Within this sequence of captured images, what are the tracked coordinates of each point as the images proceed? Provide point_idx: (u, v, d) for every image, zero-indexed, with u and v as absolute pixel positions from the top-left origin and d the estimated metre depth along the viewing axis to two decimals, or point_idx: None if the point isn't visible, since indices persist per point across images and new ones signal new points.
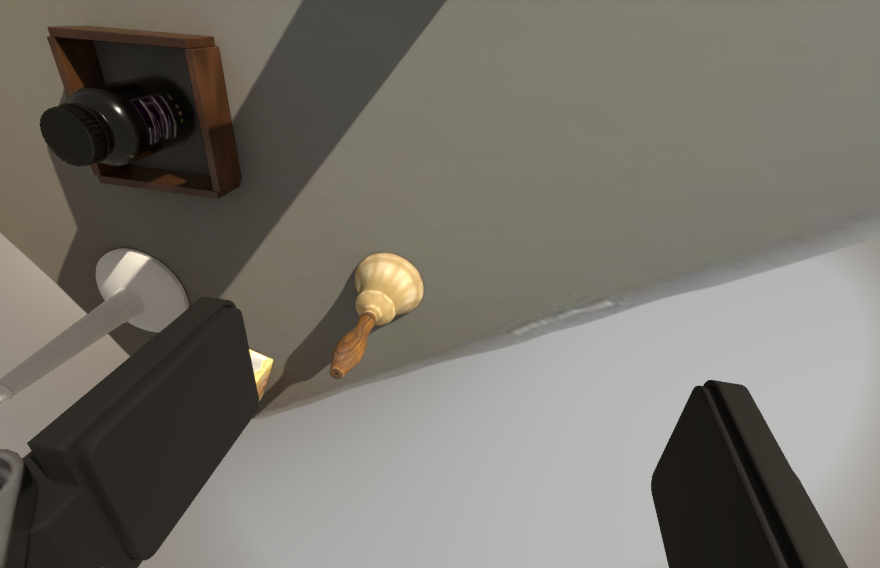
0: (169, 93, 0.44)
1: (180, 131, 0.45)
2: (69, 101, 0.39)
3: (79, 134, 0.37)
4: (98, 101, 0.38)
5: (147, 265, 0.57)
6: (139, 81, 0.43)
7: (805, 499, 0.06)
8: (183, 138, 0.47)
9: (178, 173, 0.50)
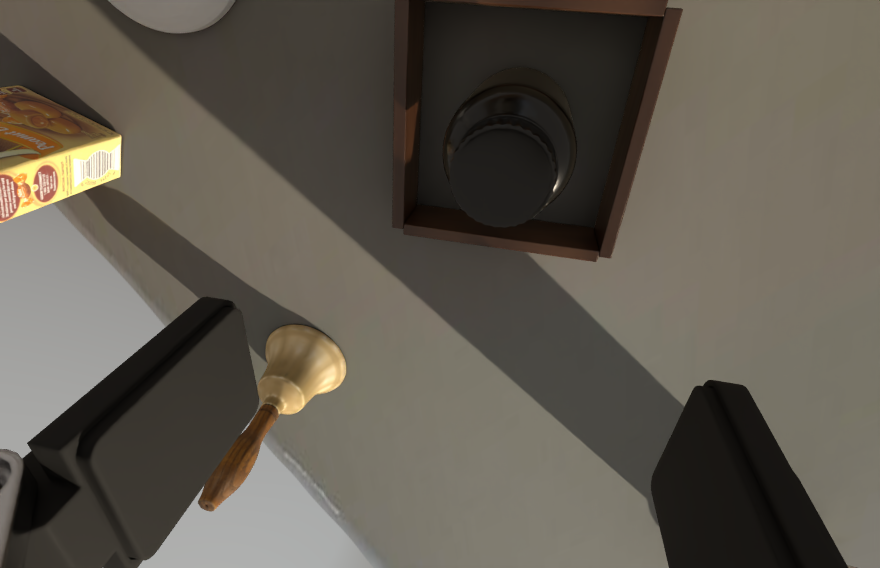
0: None
1: None
2: (559, 135, 0.21)
3: (507, 208, 0.21)
4: (552, 192, 0.23)
5: None
6: None
7: (805, 499, 0.06)
8: None
9: (419, 114, 0.31)
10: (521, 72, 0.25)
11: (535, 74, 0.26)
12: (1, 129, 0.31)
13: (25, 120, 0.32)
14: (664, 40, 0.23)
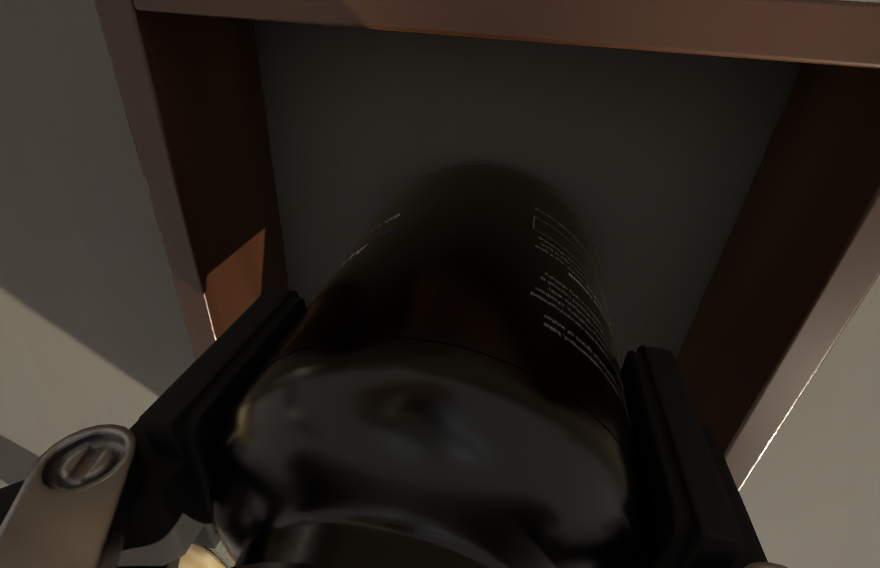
0: None
1: None
2: None
3: None
4: None
5: None
6: None
7: (703, 441, 0.07)
8: None
9: (275, 248, 0.15)
10: (473, 209, 0.09)
11: (512, 210, 0.10)
12: None
13: None
14: None
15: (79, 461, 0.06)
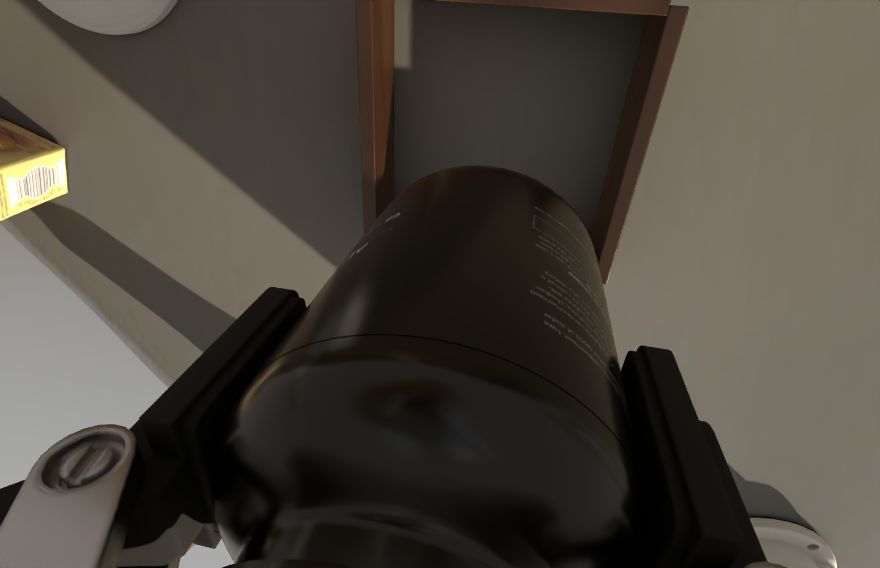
0: None
1: None
2: None
3: None
4: None
5: None
6: None
7: (703, 441, 0.07)
8: None
9: (391, 124, 0.27)
10: (473, 208, 0.09)
11: (512, 209, 0.10)
12: None
13: None
14: (667, 43, 0.20)
15: (79, 461, 0.06)
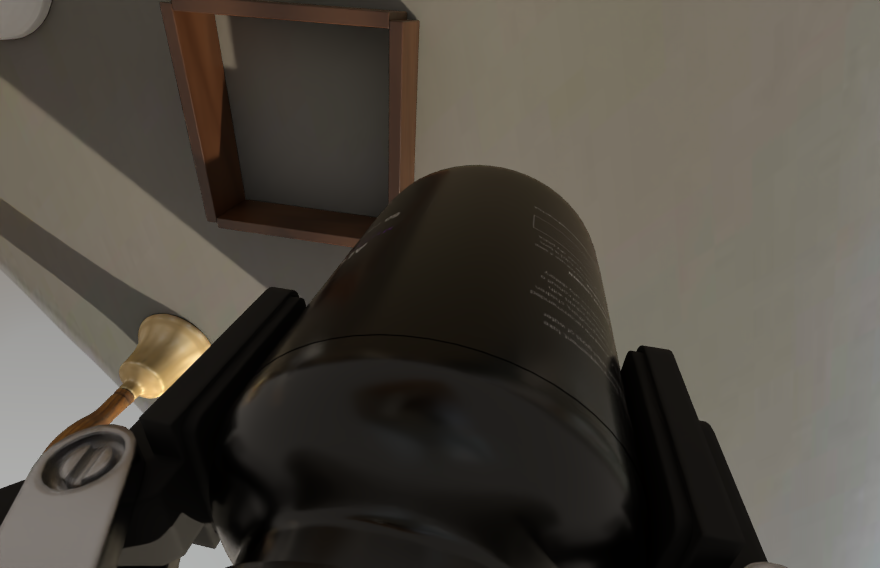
0: None
1: None
2: None
3: None
4: None
5: None
6: None
7: (703, 441, 0.07)
8: None
9: (227, 115, 0.33)
10: (473, 208, 0.09)
11: (512, 209, 0.10)
12: None
13: None
14: (394, 49, 0.25)
15: (79, 461, 0.06)
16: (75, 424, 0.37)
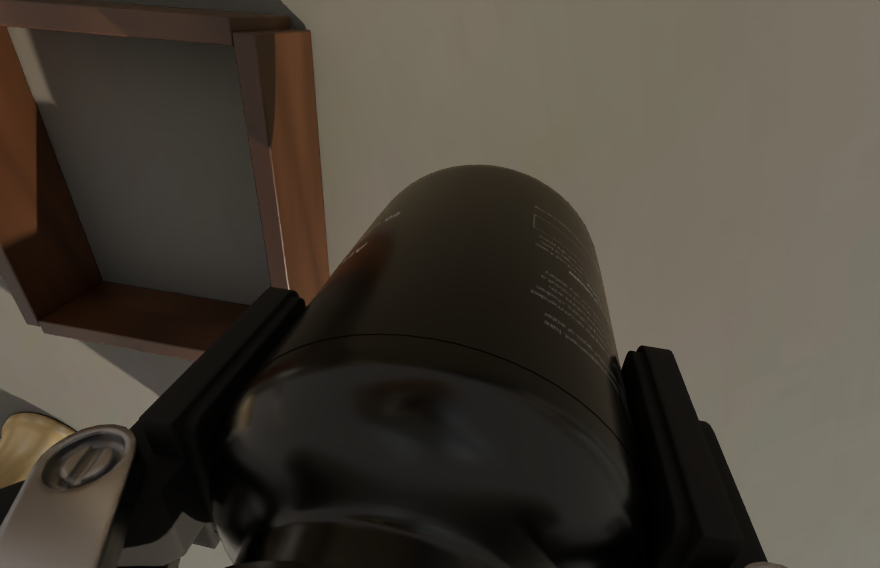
0: None
1: None
2: None
3: None
4: None
5: None
6: None
7: (703, 441, 0.07)
8: None
9: (51, 170, 0.22)
10: (473, 207, 0.09)
11: (512, 208, 0.10)
12: None
13: None
14: (248, 82, 0.15)
15: (79, 461, 0.06)
16: None
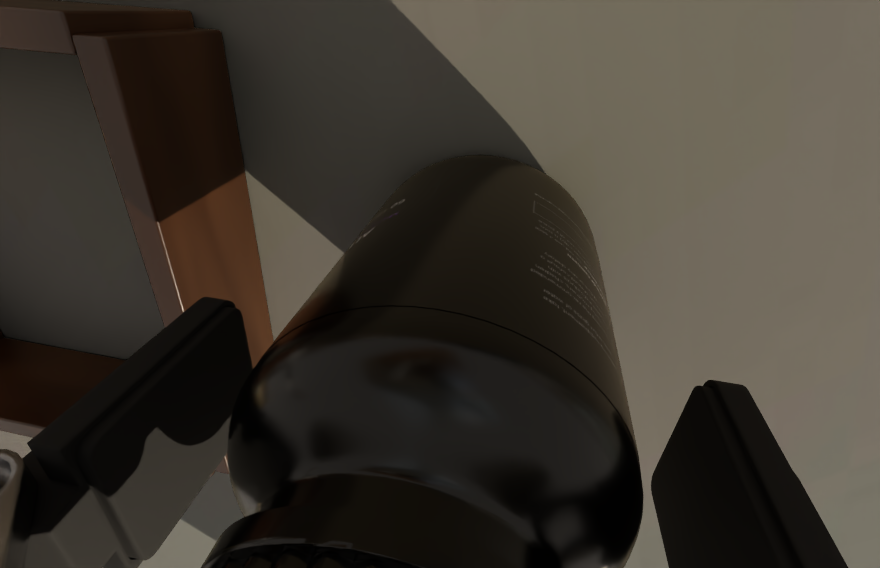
0: None
1: None
2: (589, 522, 0.06)
3: None
4: None
5: None
6: None
7: (805, 499, 0.06)
8: None
9: None
10: (476, 194, 0.10)
11: (513, 195, 0.10)
12: None
13: None
14: (105, 108, 0.10)
15: None
16: None
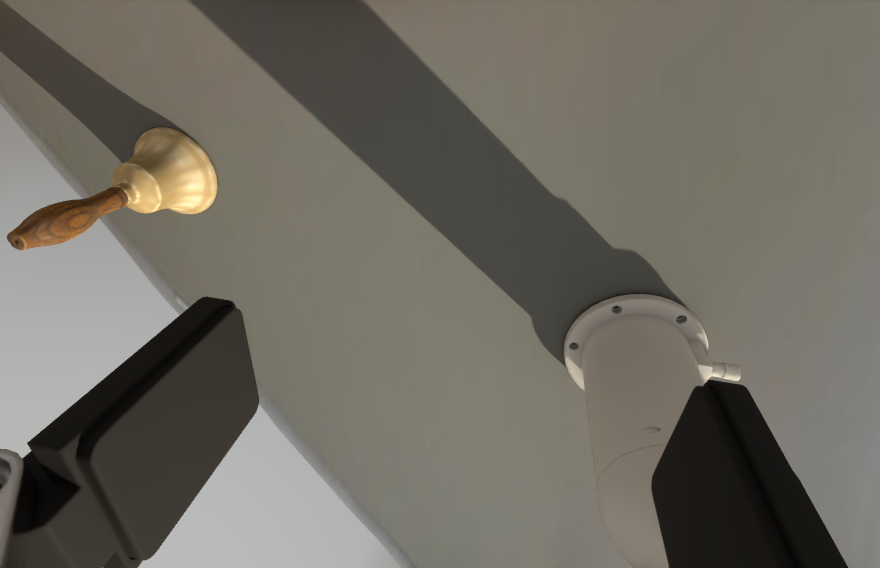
0: None
1: None
2: None
3: None
4: None
5: None
6: None
7: (805, 499, 0.06)
8: None
9: None
10: None
11: None
12: None
13: None
14: None
15: None
16: None
